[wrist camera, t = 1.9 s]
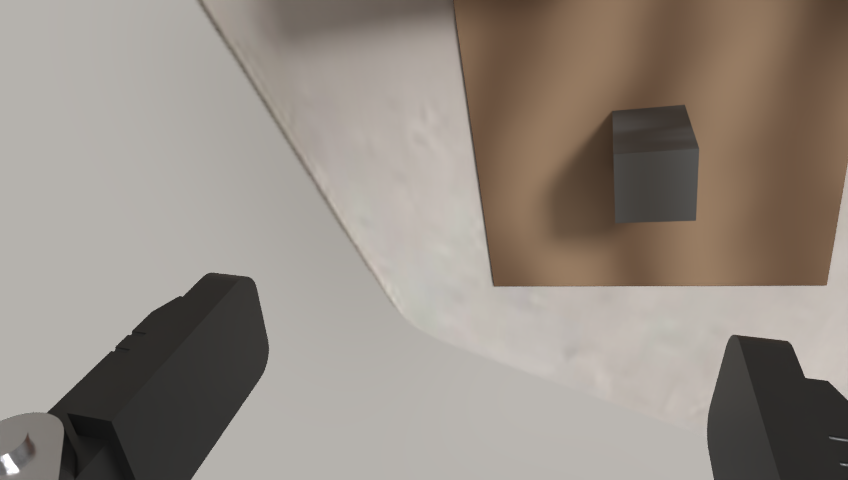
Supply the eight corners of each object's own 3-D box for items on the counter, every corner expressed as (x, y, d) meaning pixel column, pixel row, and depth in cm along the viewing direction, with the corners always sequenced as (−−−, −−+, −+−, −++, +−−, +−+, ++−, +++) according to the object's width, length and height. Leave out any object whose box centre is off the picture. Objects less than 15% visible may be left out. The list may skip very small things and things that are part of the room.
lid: (882, -94, 22) (959, -83, 17) (821, 275, 30) (863, 354, 25) (453, -24, 27) (420, -1, 22) (496, 278, 34) (478, 344, 30)
